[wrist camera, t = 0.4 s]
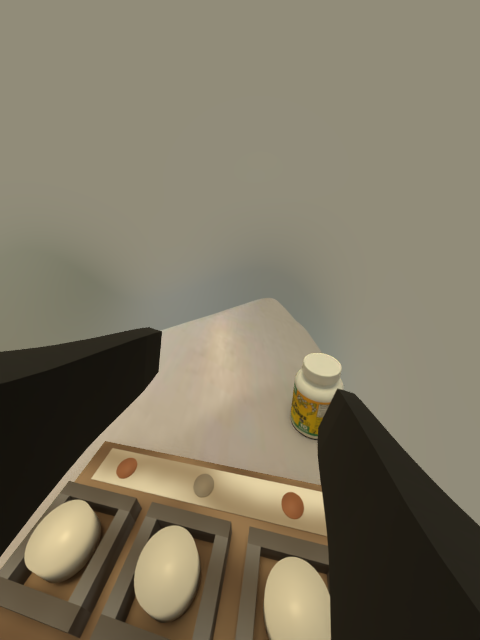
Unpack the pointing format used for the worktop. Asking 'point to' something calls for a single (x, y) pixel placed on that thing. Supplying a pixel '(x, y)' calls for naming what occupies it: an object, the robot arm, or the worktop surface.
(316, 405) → the supplement bottle
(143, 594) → the button middle
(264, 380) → the worktop surface
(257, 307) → the worktop surface
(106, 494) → the board
